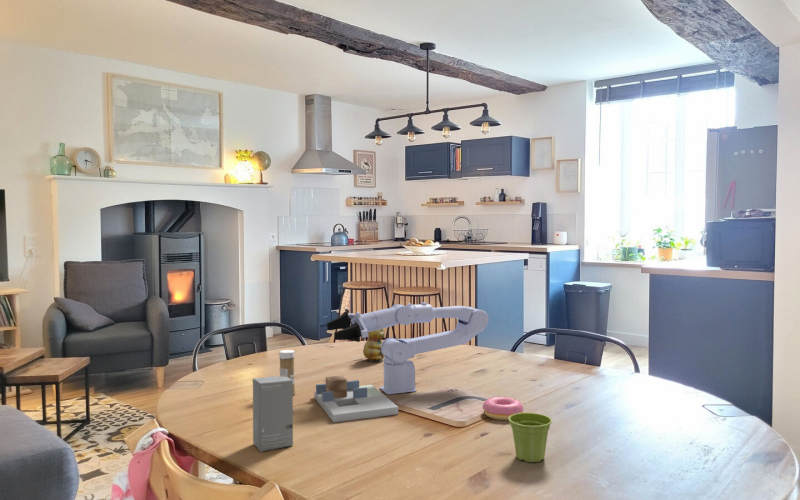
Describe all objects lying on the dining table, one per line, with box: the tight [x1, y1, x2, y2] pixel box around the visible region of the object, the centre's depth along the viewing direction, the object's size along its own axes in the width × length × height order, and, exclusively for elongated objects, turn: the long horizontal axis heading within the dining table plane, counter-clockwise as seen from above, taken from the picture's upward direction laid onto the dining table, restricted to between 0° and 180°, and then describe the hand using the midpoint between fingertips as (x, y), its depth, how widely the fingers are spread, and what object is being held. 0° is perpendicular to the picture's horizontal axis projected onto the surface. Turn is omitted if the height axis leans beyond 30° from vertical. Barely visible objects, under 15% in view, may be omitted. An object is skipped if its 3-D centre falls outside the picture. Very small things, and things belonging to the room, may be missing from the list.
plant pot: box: [507, 412, 553, 463], centre depth 134 cm, size 9×9×9 cm
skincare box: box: [252, 375, 294, 453], centre depth 143 cm, size 8×7×16 cm
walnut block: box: [325, 375, 348, 398], centre depth 176 cm, size 5×5×5 cm
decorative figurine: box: [362, 328, 386, 363], centre depth 228 cm, size 10×8×15 cm
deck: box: [313, 379, 399, 423], centre depth 173 cm, size 18×24×4 cm
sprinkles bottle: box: [278, 349, 296, 396], centre depth 184 cm, size 5×5×14 cm
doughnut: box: [482, 396, 524, 421], centre depth 164 cm, size 11×11×4 cm
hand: (331, 331), depth 180 cm, fingers open, 7 cm apart
